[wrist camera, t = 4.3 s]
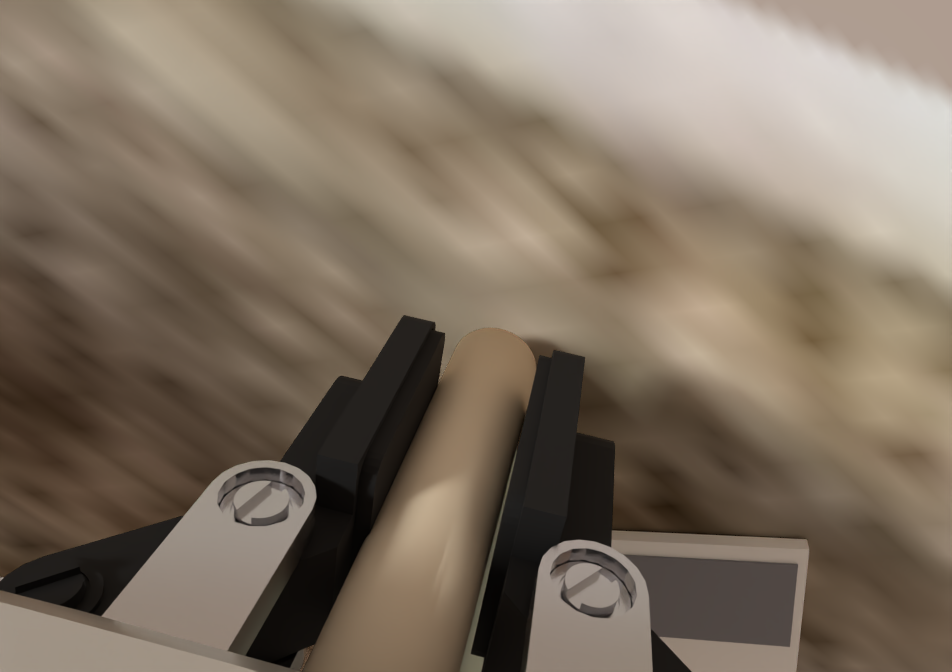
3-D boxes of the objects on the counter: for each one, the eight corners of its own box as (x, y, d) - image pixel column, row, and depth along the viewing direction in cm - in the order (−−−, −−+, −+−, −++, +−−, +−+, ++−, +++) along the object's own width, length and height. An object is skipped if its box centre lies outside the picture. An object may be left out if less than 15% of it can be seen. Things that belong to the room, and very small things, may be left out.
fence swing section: (525, 562, 16) (433, 1035, 9) (454, 551, 16) (312, 1001, 9) (538, 332, 13) (420, 753, 6) (452, 324, 14) (249, 717, 7)
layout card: (788, 716, 18) (790, 730, 17) (556, 693, 19) (555, 705, 19) (806, 539, 15) (809, 551, 15) (538, 526, 16) (536, 538, 16)
